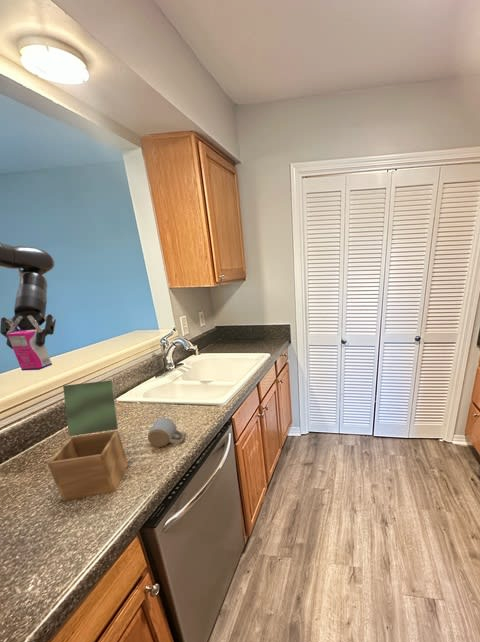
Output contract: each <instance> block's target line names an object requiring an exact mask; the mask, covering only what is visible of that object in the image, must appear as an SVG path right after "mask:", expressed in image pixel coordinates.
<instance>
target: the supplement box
mask: <svg viewBox="0 0 480 642" xmlns="http://www.w3.org/2000/svg"><path fill="white" fill-rule="evenodd" d="M37 333H39V332H38V331H37V329H36V330H22V331H18V332H14V333H10V334H7V336H8V338H9V341H10V343H11V346H12V348H13V349H12V350H13V353H14V355H15V358H16V360H17V362H18V365H19V367H20V369H21V371H41V370H43V369H45V368H48V367H51V366H53V362H52V360H51V357H50V354H49V352H48V349H47V347H46V343H45V344H44V345H43V346H42V347H39V346H38V345H37V344H36V338H37Z"/></svg>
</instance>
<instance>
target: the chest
mask: <svg viewBox="0 0 480 642" xmlns="http://www.w3.org/2000/svg"><path fill="white" fill-rule="evenodd" d="M128 466H129V463H128V459H127V456H126V452H125V448H124V446H123V443H122V439H121V436H120V431H119V430H112V431H105V432H98V433H91V434H84V435H76V436H69V438H68V439H67V440H66V441H65V443H64V444H63V445H62V446H61V447H60V448H59V449H58V451H57V452H56V453H55V454H54V456H52V457H51V459H50V460H49V461H48V462H47V467H48V468H49V471H50V473H51V476H52V478H53V481H54V483H55V485H56V487H57V490H58V493H59V495H60V497H61V500H62V501H69V500H75V499H81V498H87V497H93V496H98V495H105V494H109V493H116V491H117V489H118V488H119V485H120V483H121V480H122V478H123V476H124V474H125V472H126V470H127V467H128Z"/></svg>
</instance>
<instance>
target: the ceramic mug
mask: <svg viewBox="0 0 480 642" xmlns="http://www.w3.org/2000/svg"><path fill="white" fill-rule="evenodd" d="M175 435H177V436H179V437H180V439H173V438H174V436H175ZM184 439H185V435H184V433H182V432H181V431H179V430H177V425H176V423H175V422H174V421H173V420H171V419H169V418H167V417H162V418H158V419H156V420H155V421H154V423H153V425H152V426H151V429H150V430H149V431H148V435H147V440H148V442H149V444H151V445H152V446H154V447H157V448H162V447H165V446H167V445H169V443H171V444H175V445H176V444H181V443H183V441H184Z"/></svg>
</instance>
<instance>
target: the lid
mask: <svg viewBox="0 0 480 642" xmlns="http://www.w3.org/2000/svg"><path fill="white" fill-rule="evenodd" d="M62 389H63V397H64V406H65V413H66V415H65V416H66V422H67V431H68V437H75V436H82V435H89V434H96V433H103V432H111V431H118V430H119V426H118V425H119V424H118V417H117V410H116V400H115V392H114V384H113V380H110V379H109V380H102V381H92V382H84V383H76V384H75V383H74V384H67V385H65V384H64V385H62Z"/></svg>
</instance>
